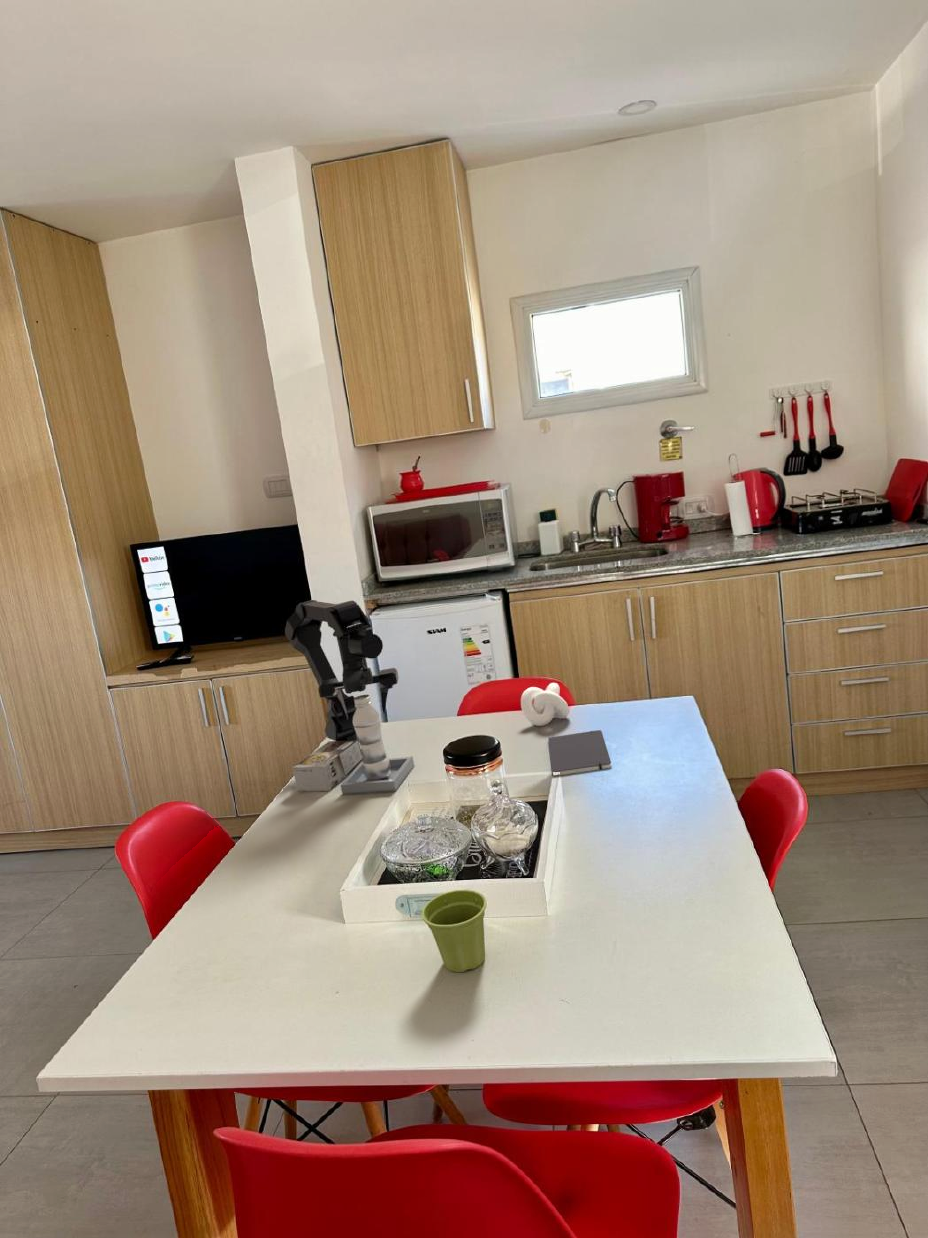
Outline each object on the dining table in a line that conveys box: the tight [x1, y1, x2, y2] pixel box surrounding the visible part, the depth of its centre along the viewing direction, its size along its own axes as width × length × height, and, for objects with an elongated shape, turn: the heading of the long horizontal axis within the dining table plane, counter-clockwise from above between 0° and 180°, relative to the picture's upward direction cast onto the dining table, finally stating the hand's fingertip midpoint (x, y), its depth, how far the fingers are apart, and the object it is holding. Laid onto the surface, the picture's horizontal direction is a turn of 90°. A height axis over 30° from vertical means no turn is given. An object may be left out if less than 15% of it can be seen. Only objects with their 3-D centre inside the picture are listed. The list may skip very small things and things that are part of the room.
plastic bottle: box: [353, 694, 391, 781], centre depth 198 cm, size 6×7×20 cm
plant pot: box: [421, 889, 487, 973], centre depth 124 cm, size 9×9×9 cm
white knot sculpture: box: [520, 682, 570, 727], centre depth 219 cm, size 11×12×9 cm
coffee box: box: [291, 740, 363, 792], centre depth 207 cm, size 9×6×16 cm
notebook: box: [547, 729, 612, 776], centre depth 194 cm, size 13×2×21 cm
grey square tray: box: [340, 756, 415, 796], centre depth 200 cm, size 14×13×2 cm
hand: (365, 716), depth 207 cm, fingers open, 9 cm apart
